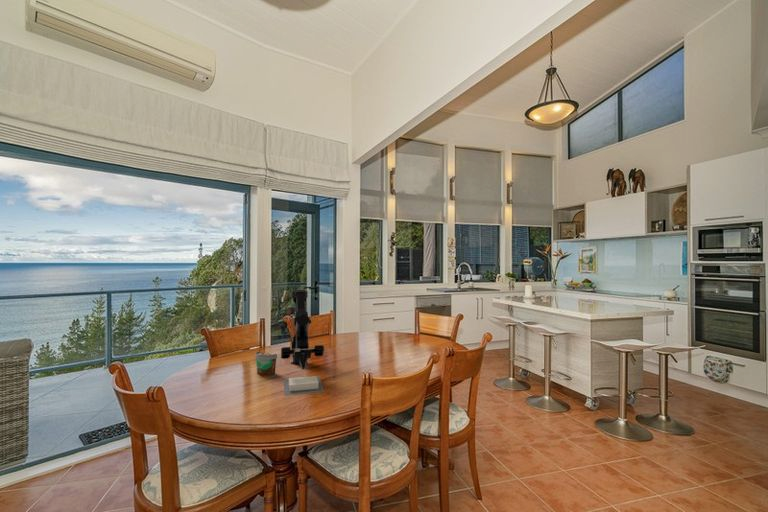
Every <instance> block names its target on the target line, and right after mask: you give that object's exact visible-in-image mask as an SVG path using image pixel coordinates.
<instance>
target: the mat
mask: <svg viewBox="0 0 768 512" xmlns="http://www.w3.org/2000/svg"><path fill="white" fill-rule="evenodd" d="M317 379H318V382H319V385H318V389H312V390H302V391H292V392H290V391H289V378H287V379H283V393H284V394H283V396H285V397H287V396H294V395H295V396H296V395H306V394H315V393H316V394H317V393H324V392H325V390H324V387H323V383H322V380H321V377H320V376H319V375H318V376H317Z"/></svg>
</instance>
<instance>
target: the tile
mask: <svg viewBox="0 0 768 512" xmlns="http://www.w3.org/2000/svg"><path fill="white" fill-rule="evenodd" d="M317 377H318V376H317V375H312V376H298V377H289V378H288V379H289V391H290V392H292V391H302V390H312V389H318V385H319V382H318V379H317Z"/></svg>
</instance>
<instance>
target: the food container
mask: <svg viewBox="0 0 768 512" xmlns="http://www.w3.org/2000/svg"><path fill="white" fill-rule="evenodd" d="M254 359H255V360H256V361H255V362H256V374H257V375H259V376H271V375H275V374H276V365H277V359H278V355H277V353H274V354H270V353H264V352H261V351H260V350H258V351H256V352H255V355H254Z"/></svg>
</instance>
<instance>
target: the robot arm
mask: <svg viewBox="0 0 768 512" xmlns="http://www.w3.org/2000/svg"><path fill="white" fill-rule="evenodd" d="M308 293H309V291H308V290H307V291H306V289H293V291H291V299H292V302H293V305H294V306H295V313H294V317H293V319H292V320H293V321H292V322H293V326H294V328H295V334H294V336H293V337H292V341H291V344H290V346H283V347H281V349H280V350H281V351H280V359H282V360H288V359H289V358H290V357H291V356H292V361H291V362H290V364H293V365H295V366H300V368H301V369H302V370H305V368H306V364H307V363H308V360H309V359H311V358H312V354H313V355H314V356H315V357H324V353H325V347H324V345H323V344H315V345H314V347H313V348H312V347H311V348H310V343H309V342H310V341H309V326H310V325H311V323H312V319H311V318H310V317H309V313H308V311H306V302H307V299H308V297H309V296H308V295H309V294H308Z"/></svg>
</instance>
